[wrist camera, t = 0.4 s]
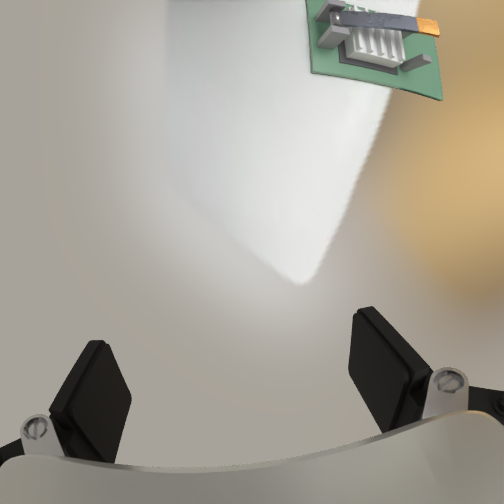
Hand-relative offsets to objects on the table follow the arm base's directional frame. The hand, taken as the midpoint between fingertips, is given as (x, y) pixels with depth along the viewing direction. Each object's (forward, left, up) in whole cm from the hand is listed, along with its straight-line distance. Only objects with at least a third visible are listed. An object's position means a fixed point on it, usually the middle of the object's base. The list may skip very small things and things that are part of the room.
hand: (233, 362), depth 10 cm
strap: (-28, +21, -22) cm, 41 cm away
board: (-28, +24, -31) cm, 48 cm away
